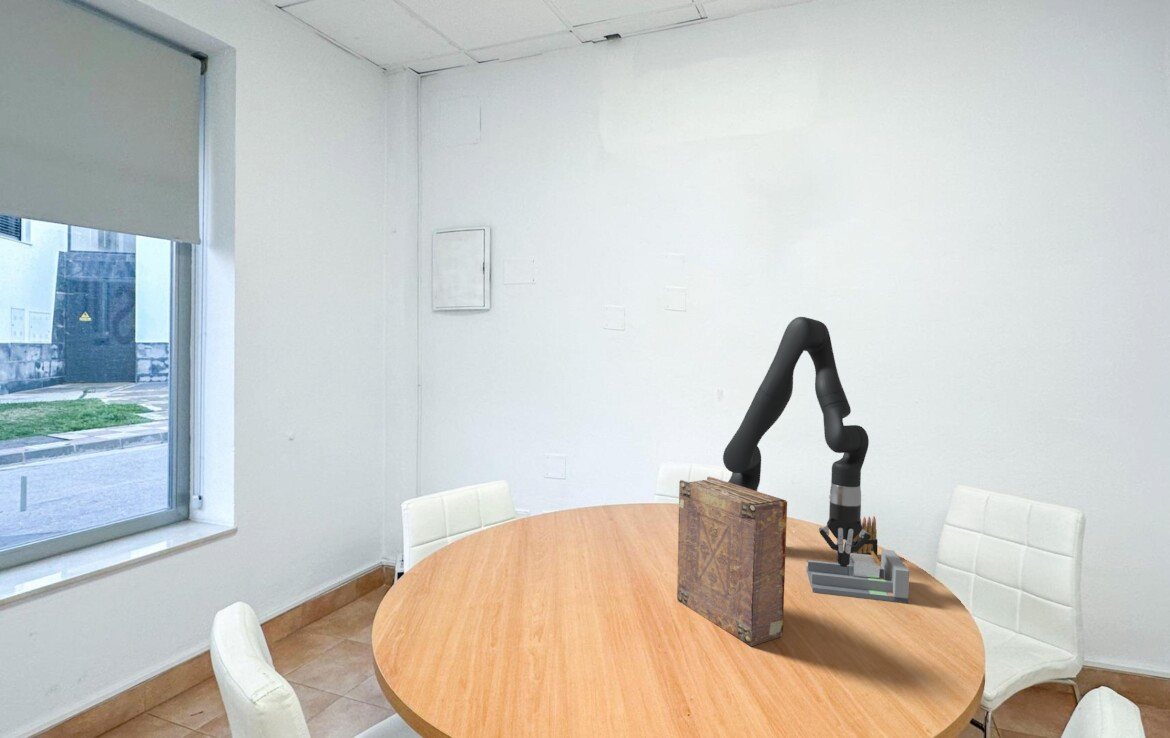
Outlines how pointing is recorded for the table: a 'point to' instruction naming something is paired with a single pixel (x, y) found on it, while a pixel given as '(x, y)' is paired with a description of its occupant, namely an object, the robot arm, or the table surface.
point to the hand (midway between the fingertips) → (843, 565)
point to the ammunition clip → (872, 542)
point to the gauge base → (862, 580)
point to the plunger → (864, 566)
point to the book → (732, 557)
